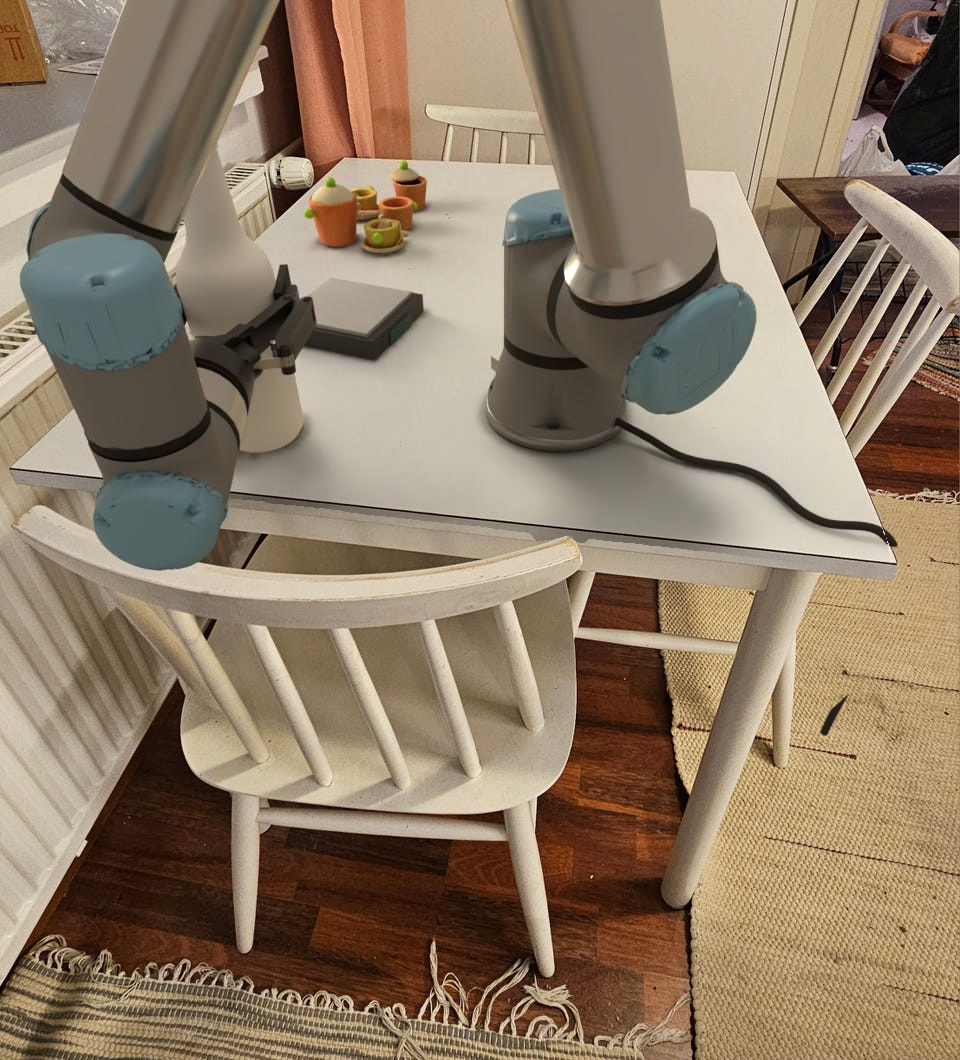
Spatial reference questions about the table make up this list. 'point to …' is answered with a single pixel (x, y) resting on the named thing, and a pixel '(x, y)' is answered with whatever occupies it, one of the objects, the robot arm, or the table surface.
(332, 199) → the toy tea set
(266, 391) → the white bottle
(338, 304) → the scale
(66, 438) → the table surface
